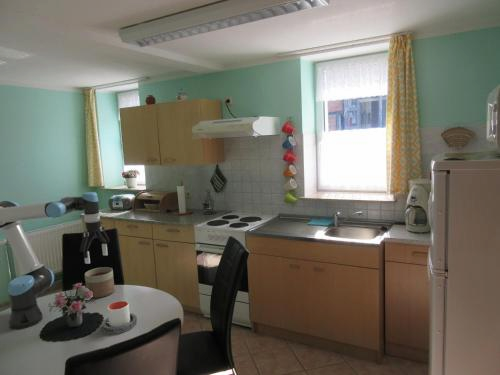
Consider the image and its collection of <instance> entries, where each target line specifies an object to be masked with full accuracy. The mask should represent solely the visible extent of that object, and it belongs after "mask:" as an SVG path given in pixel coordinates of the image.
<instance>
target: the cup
mask: <svg viewBox="0 0 500 375" xmlns="http://www.w3.org/2000/svg"><path fill="white" fill-rule="evenodd" d="M107 316H108V317H107V318H109V325H110V326H111V327H120V326H124V325H126V324H128V323H129V322H130V304H129V302H128V301H125V300H118V301H114V302H111V303H110V304H109V305H108V306H107Z"/></svg>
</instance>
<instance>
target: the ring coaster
mask: <svg viewBox="0 0 500 375" xmlns="http://www.w3.org/2000/svg"><path fill="white" fill-rule="evenodd" d="M129 313H130V312H129ZM137 321H138V319H137V315H135V314H134V313H132V312H131V313H130V322H129V323H128V324H126V325H124V326H120V327H111V326H110V325H109V318H108V317H107V318H105V319H103V321H102V323H101V328H102V330H103V332H104V333H106V334H110V335H113V334H114V335H115V334H123V333H125V332H128V331H130V330H132V329H133V328H134V327H136V326H137Z"/></svg>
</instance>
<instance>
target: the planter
mask: <svg viewBox="0 0 500 375" xmlns="http://www.w3.org/2000/svg"><path fill="white" fill-rule="evenodd" d="M84 280H85V288H88V289H89V290H90V291H92V292H93V298H94V299H99V298H103V297H107V296H109V295H112V294H113V293H114V291H115V290H116V289H115V281H114V270H113V267H109V266H107V267H106V266H104V267H96V268H92V269H90V270H88V271H86V272H85V273H84Z"/></svg>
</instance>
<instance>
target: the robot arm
mask: <svg viewBox="0 0 500 375" xmlns="http://www.w3.org/2000/svg"><path fill="white" fill-rule="evenodd" d="M99 206H100V205H99V197H98V193H97V192H95V191H90V192H89V191H88V192H84V193H82V194H81V196H67V197H66V196H65V197H62V198H60V200H57V201H49V202H42V203H41V202H40V203H35V204H34V203H33V204H25V205H20V204H19V203H18V202H16V201H14V200H3V201H0V231H2V232H3V234H4V235H5V238H6V239H7V241H8V243H9V245H10V247H11V249H12V251H13V253H14V255H15V258H16V259H17V262H18V264H19V266H20V267H21V270H22V273H21V276H18V277H16V278H13V279H11V280H10V281H9V283H8V285H7V293H8V298H9V304H10V315H9V316H10V317H9V320H8V325H9V326H8V327H9V328H10V329H12V330H21V329H26V328H29V327H32V326H35V325H37V324H38V323H40V322H41V321H42V320H43V318H44V317H43V312H42V311H41V309H40V307H39V305H38V300H37V296H39V295H41V294H42V293H44V292H45V291H47V290H48V289H49V288H50V287H52V285H53V284H54V281H55V275H54V272H53V271H52V269H49V268H48V267H46V266H45V264H43V263H41V262H40V261H39V260H38V257H37V255H36V253H35V250H34V249H33V247H32V244H31V243H30V241H29V239H28V237H27V235H26V232H25V231H24V229H23V227H22V222H23V221H29V220H31V221H32V220H35V219H36V220H37V219H39V220H40V219H45V218H46V219H47V218H52V219H56V218H61V217H62V216H64V215H68V214H70V213H72V212H80V211H81V212H82V211H83V216H84V224H85V225H84V226H85V229H86V231H87V232H82V237H81V238H82V239H81V243H80V246H79V252H80V253H82V254H83V259H84V264H87V265H88V264H91V258H90V251H89V248H90V247H91V244H92V241H94V240H95V239H98V240H99V241H100V242H101V250H102V256H108V255H109V254H108V244H109V242H110V241H111V240H110V238H109V236H108V234H107V232H106V231H105V227H104V226H101V217H100V216H101V214H100V207H99Z"/></svg>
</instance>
